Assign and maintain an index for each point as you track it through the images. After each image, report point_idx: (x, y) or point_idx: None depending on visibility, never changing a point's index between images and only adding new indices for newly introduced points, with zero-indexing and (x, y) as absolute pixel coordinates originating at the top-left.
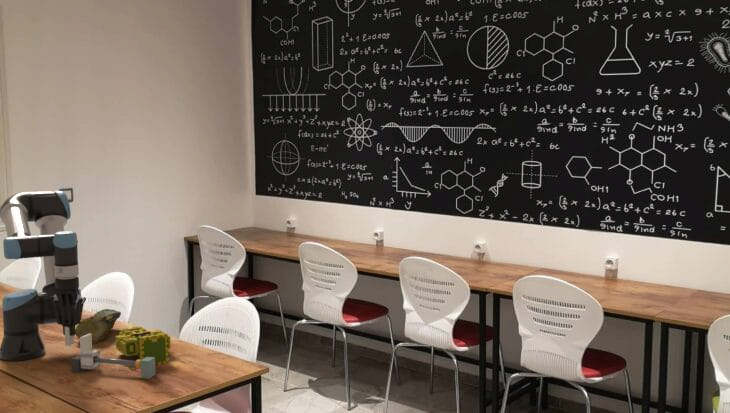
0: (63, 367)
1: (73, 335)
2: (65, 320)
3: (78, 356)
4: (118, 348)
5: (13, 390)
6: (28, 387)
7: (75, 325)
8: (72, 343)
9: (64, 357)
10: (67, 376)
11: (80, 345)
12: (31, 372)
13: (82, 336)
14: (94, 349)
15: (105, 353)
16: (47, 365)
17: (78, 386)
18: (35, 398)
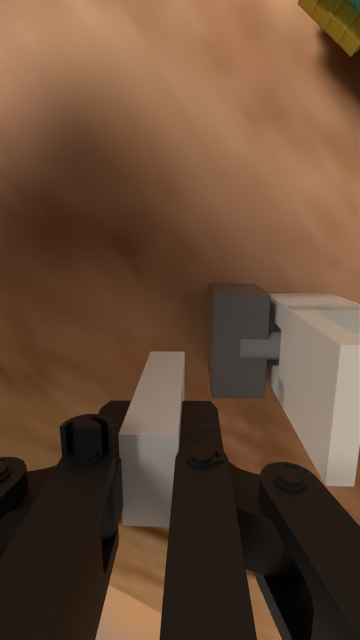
0: (130, 325)
1: (182, 381)
2: (102, 590)
3: (232, 353)
4: (349, 41)
5: (127, 584)
6: (158, 552)
7: (230, 463)
8: (184, 372)
9: (23, 183)
10: (228, 422)
11: (304, 440)
12: (40, 418)
13: (330, 449)
14: (332, 313)
15: (204, 32)
16: (36, 321)
17: (345, 504)
18: (256, 623)
